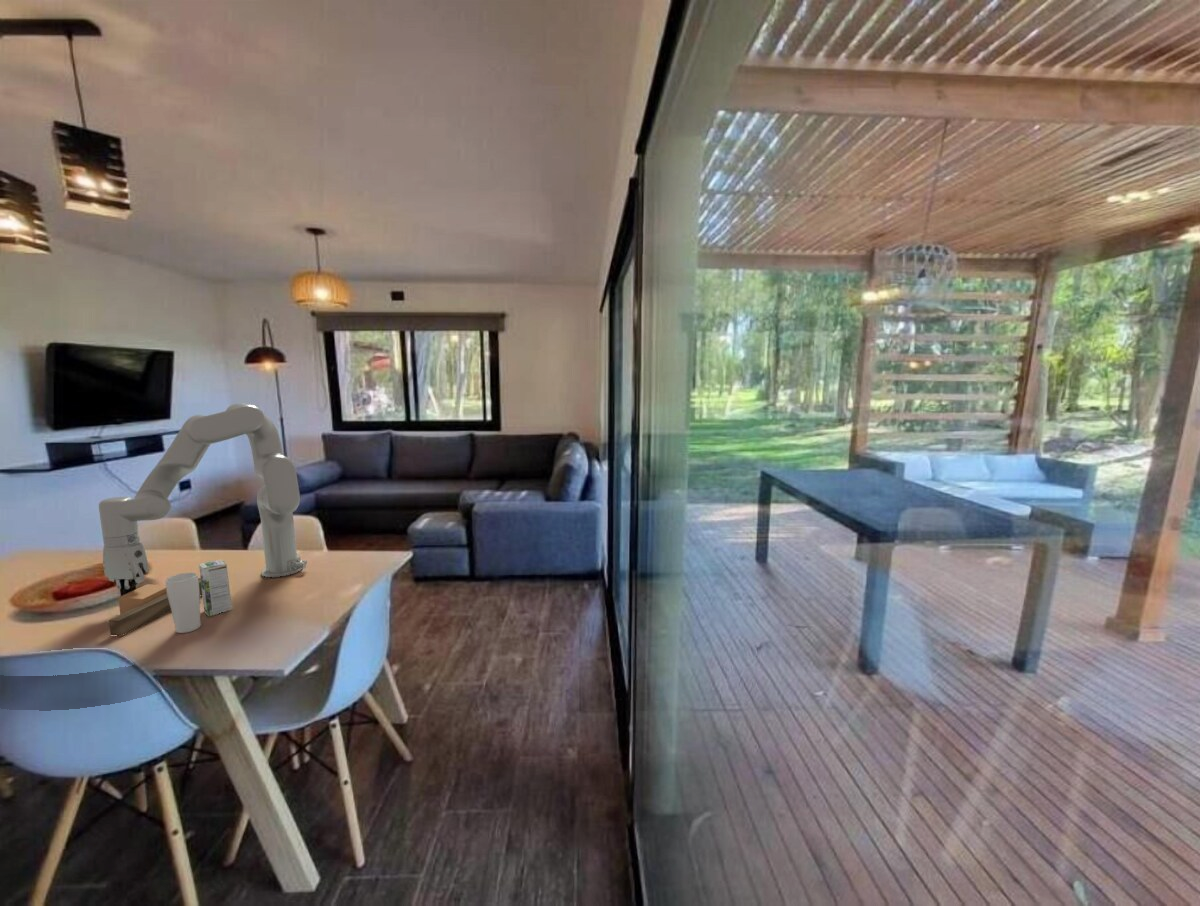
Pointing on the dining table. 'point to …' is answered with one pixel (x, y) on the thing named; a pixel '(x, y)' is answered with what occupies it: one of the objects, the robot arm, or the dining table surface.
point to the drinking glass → (184, 601)
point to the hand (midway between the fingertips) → (129, 600)
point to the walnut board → (141, 615)
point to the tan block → (140, 596)
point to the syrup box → (215, 587)
